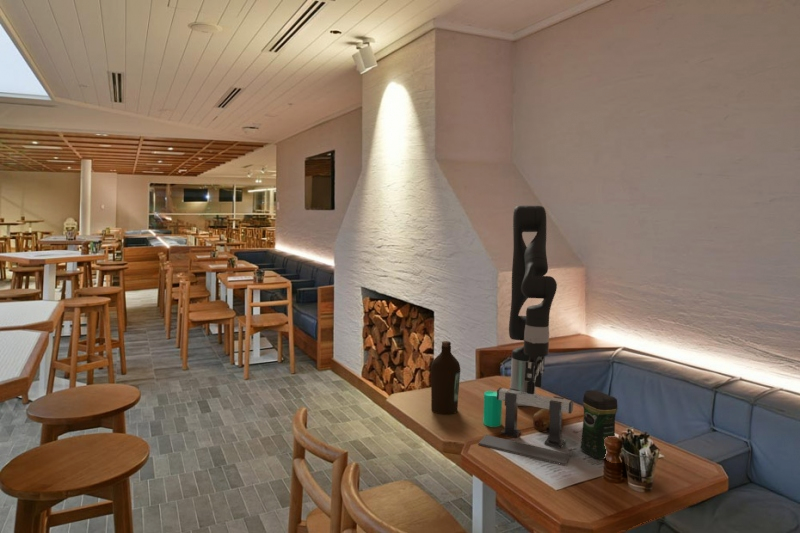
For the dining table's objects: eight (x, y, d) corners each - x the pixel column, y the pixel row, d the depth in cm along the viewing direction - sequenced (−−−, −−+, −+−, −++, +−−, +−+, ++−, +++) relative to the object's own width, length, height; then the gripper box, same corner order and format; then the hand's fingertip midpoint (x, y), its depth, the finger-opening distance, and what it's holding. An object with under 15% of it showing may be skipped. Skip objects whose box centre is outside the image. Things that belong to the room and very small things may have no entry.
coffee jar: (619, 458, 153) (623, 396, 151) (597, 462, 150) (601, 399, 148) (596, 444, 162) (600, 386, 160) (575, 448, 159) (578, 388, 157)
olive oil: (427, 413, 185) (429, 344, 182) (431, 403, 195) (433, 337, 193) (457, 416, 183) (460, 346, 180) (460, 406, 193) (462, 339, 191)
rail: (499, 396, 171) (500, 387, 171) (572, 410, 160) (573, 400, 160) (496, 399, 169) (497, 390, 168) (570, 413, 158) (571, 403, 157)
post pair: (505, 429, 172) (507, 387, 171) (564, 441, 163) (566, 398, 162) (500, 434, 168) (502, 392, 166) (560, 448, 158) (563, 403, 157)
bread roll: (563, 437, 176) (566, 413, 178) (560, 434, 167) (563, 409, 170) (533, 431, 180) (536, 408, 183) (529, 428, 171) (532, 404, 174)
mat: (486, 436, 166) (486, 434, 166) (570, 455, 154) (570, 453, 153) (478, 444, 160) (478, 442, 160) (565, 465, 147) (565, 463, 147)
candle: (500, 427, 173) (502, 392, 172) (482, 426, 175) (484, 391, 174) (501, 421, 179) (502, 387, 178) (483, 419, 181) (484, 385, 179)
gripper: (530, 334, 171) (528, 382, 172) (518, 342, 158) (515, 394, 160) (553, 336, 167) (551, 386, 168) (543, 345, 155) (540, 398, 156)
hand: (534, 390), depth 164 cm, fingers open, 8 cm apart
